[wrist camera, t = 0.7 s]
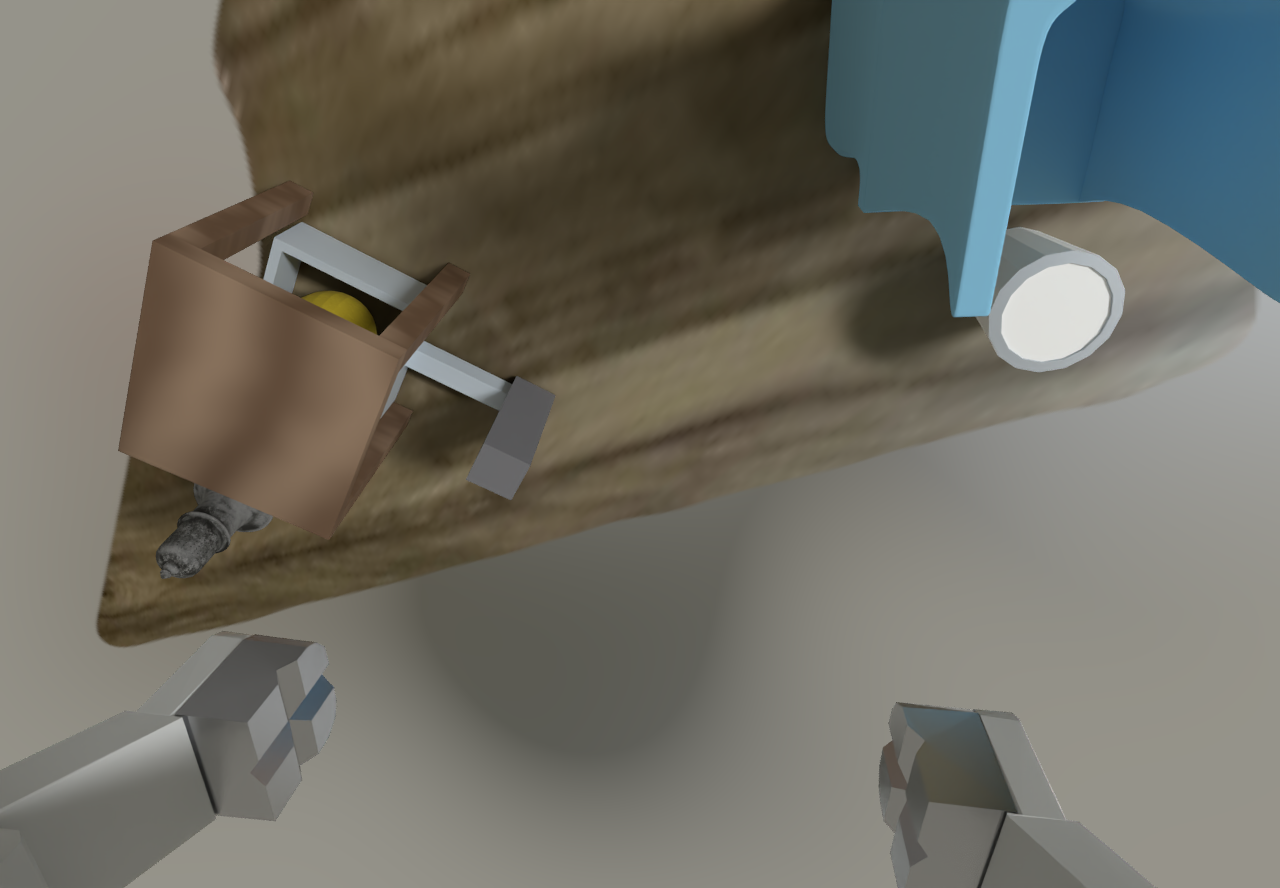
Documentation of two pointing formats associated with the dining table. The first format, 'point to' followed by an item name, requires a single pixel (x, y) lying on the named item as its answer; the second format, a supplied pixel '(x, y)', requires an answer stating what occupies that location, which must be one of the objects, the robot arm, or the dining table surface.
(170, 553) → the gray stone ornament
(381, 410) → the tunnel
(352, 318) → the lemon
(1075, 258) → the grey white cylinder
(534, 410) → the slider
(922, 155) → the blue angular vessel
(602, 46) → the dining table surface
